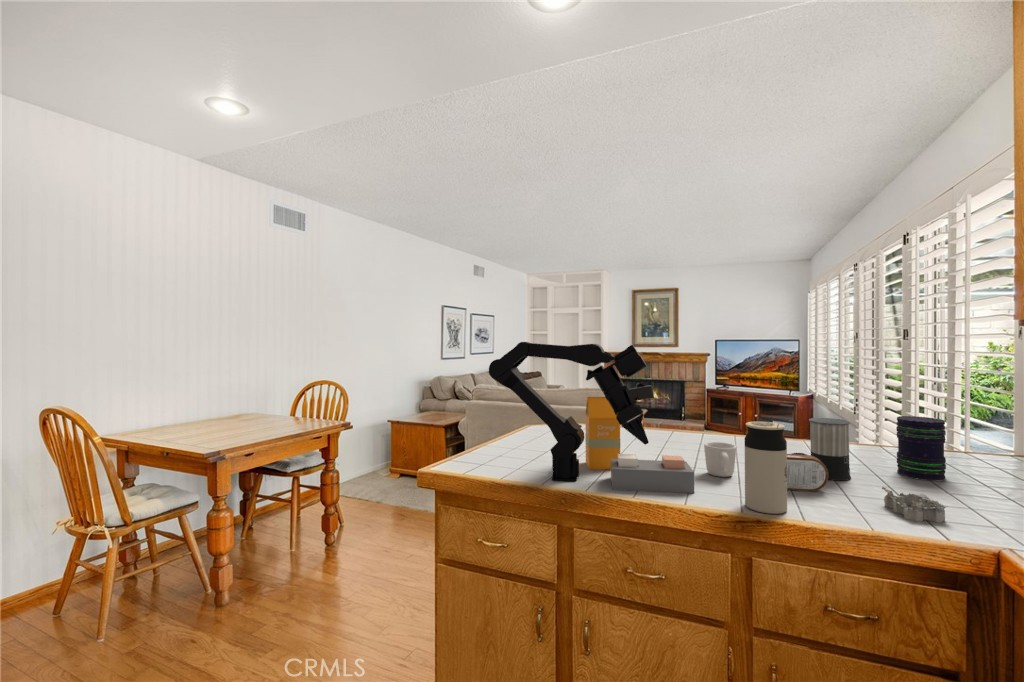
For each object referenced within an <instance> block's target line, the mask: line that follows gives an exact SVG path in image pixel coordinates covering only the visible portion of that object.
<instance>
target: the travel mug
mask: <svg viewBox="0 0 1024 682" xmlns="http://www.w3.org/2000/svg"><path fill="white" fill-rule="evenodd" d="M745 426H746V427H747V428H746V429H747V433H746V435H745V437H744V505H745V507H747V508H748V509H750V510H752V511H754V512H757V513H761V514H768V515H780V514H784V513H787V511H788V490H787V454H788V451H787V449H788V441H787V440H786V438H785V436H784V430H785V428H786V426H785V425H784V424H781V423H778V422H770V421H748V422H746V423H745Z"/></svg>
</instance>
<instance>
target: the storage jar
mask: <svg viewBox="0 0 1024 682" xmlns="http://www.w3.org/2000/svg"><path fill="white" fill-rule="evenodd" d="M896 421H897V422H896V439H897V445H898V446H897V450H898V451H896V463H897V465H896V466H897V474H898V475H900V474H901V476H903V477H906V476H907V477H906V478H910V477H911V479H915V478H918V479H917V480H921V479H924V480H923V481H931V480H941V481H945V480H946V475H945V474H946V468H947V464H946V461H947V459H946V457H945V443H946V434H947V432H946V426H945V424H946V420H943V419H940V418H934V417H927V416H914V415H913V416H912V415H911V416H909V415H902V416H897V417H896ZM944 479H945V480H944Z"/></svg>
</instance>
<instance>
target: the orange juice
mask: <svg viewBox="0 0 1024 682" xmlns="http://www.w3.org/2000/svg"><path fill="white" fill-rule="evenodd" d="M585 408H586V409H585V414H584V415H585V433H584V441H585V442H584V443H585V463H586V466H587V467H588V469H589V470H611V459H618V454H621V425H620V424H619V422H618V420H617V419H616V415H615V413H614V411H613V409H612V407H611V405H610V404H609V402H608V400H607V399H606V397H605V396H587V397H586V407H585Z"/></svg>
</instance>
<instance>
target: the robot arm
mask: <svg viewBox="0 0 1024 682" xmlns="http://www.w3.org/2000/svg"><path fill="white" fill-rule="evenodd" d="M528 357H534V358H544V359H554V360H555V359H556V360H567V361H569V362H573V363H576V364H581V365H585V366H587V367H595V366H597V367H596V368H594V369H593V370H592V369H587V371H586V372H587V375H586V378H585V380H586V381H590V380H591V379H593V378H594V380H595V383H596V384H597V385H598V387H599V389H600V391H601V392H602V394H603V395H604V397H606V399H607V400H608V402H609V404H610V405H611V407H612V409H613V411H614V413H615V415H616V419H617V420H618V422H619V424H620V427H622V428H623V429H625V430H626V431H627V432H629V433H630V434H631V435H632V436H633V437H635V438H636V439H637V440H639V442H641V443H642V444H643V445H645V446H646V445H647V444H649V442H650V441H649V440H648V437H647V433H646V431H645V429H644V426H643V423H642V421H643V417H644V414H645V413H644V411H643V408H641V406H640V405H639V404H637V401H641V400H646V399H648V400H650V399H651V400H653V399H655V395H654V394H655V393H654V389H653V385H646V384H645V383H644V382H638V383H636V386H635V387H632V388H629V387H628V386H627V385H626V384H625V383H624V382H623V381H622V379H621V377H625V376H626V377H627V378H628V379H629V378H630V377H632V376H635V375H636V374H638V373H639V372H642V371H643V370H645V369H647V368H648V365H647V364H646V361H645V360H644V359H643V357H642V355H641V354H640V353H639V351H637V349H636V348H635V346H634V345H633V344H631V345H629V346H627V347H626V348H625V349H624V350H622V351H621V352H618V353H617V354H616V355H614V354H613V353H610V352H607V351H605V349H604V347H602V346H601V345H600V344H597V343H587V344H575V345H562V344H561V345H560V344H547V343H534V342H529V341H520V342H519V343H517V344H516V345H515V346H514V347H513V348H512V349H511V350H509V351H507V353H505V354H504V355H502V356H501V357H500V358H499V359H498V358H497V359H494V360H493V361H491V362H490V364H489V367H488V375H489V376H490V377H491V378H492V379H493V380H494V381H496V382H497V383H498V384H499V385H501V386H503V387H505V388H507V389H509V390H510V391H512V392H513V393H514V394H516V395H517V397H519V399H521V401H523V403H524V404H525V405H526V406H527V407H529V409H530V410H531V411H533V413H534V414H536V415H537V417H538V418H539V419H540V420H542V422H543V423H544V424H545V425H546V426H547V427H548V428H549V430H550V432H551V434H552V435H553V438H554V439H555V441H556V443H555V444H554V445H553V446H552V447H551V448H550V452H551V455H552V456H551V457H552V460H551V461H552V465H551V466H552V475H551V481H562V482H563V481H567V482H577V481H578V478H579V476H580V459H579V458H578V457H577V456H578V454H577V452H576V451H577V450H578V449H580V447H581V445H583V443H584V441H585V432H584V430H583V429H582V426H583V425H581V424H579V423H578V422H577V421H576V420H575V419H574V417H573V416H571V415H569V416H568V418H565V417H564V416H562V415H561V414H559V412H558V411H556V409H554V408H553V407H552V406H551V405H550V404H549V403H548V402H547V400H545V399H544V398H543V396H541V395H540V394H539V393H538V392H537V391H536V390H535V389H534V388H533V387H532V386H531V385H530V384H529V383H528V382H527V381H526V380H525V379H524V377H523V375H522V374H521V371H520V369H518V367H519V366H520V365H521V364H522V363H523V362H524V361H525V360H526V359H527V358H528ZM613 361H614V362H613ZM611 362H613V363H612V364H610V363H611ZM602 363H603V364H610V365H608V366H607V367H605V366H603V365H600V364H602ZM598 365H599V366H598ZM614 366H615V367H614ZM615 368H616V369H615ZM618 373H619V374H618ZM620 376H621V377H620Z"/></svg>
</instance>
